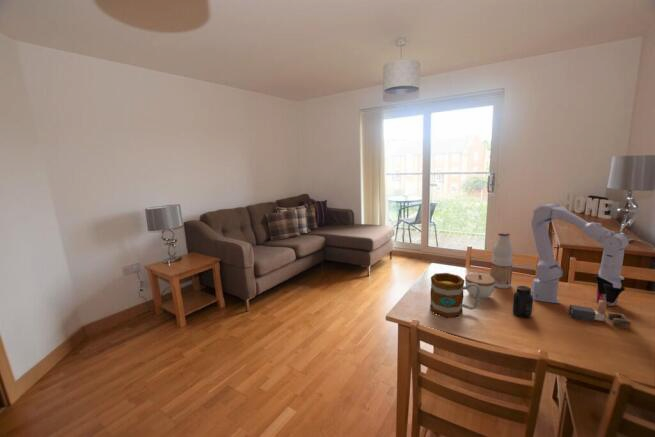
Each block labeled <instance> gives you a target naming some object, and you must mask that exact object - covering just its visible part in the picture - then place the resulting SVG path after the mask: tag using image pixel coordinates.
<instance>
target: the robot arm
mask: <svg viewBox="0 0 655 437" xmlns="http://www.w3.org/2000/svg"><path fill="white" fill-rule="evenodd" d="M532 213H533V216H532V220H531V227H532V232H533V236H534V240H535V241H534V242H535V247H536V251H537V255H538V258H539V261H538V263H537V265H536V272H535V273H536V277H537V278H532V284H531V295H532V296H533V301H539V302H544V303H545V302H547V303H553V304H560V301H559V299H558V290H559V283H560V282H559V280H560V278H562V277H563V274H564V272H563V269H562V268H561V266H560V265H559V262H558V261H557V260H556V259H555V257H554V252H553V249H552V248H553V247H552V245H551V244H552V243H551V239H550V235H549V230H548V226H547V225H548V224H549V223H550V222H552V220H563V221H565V222H567V223H569V224H571V225H573V226H575V227H577V228H579V229H581V230H582V233H583V235H585V236H587V237H589V238H590V239H592V240H593V241H595V242H597V243H599V244H600V245H601V247H602V248H603V252H602V256H601V262H600V268H599V269H598V274H595V275H594V276H593V277H594V278H595V281H596V285H597V286H598V292H599V294H606V301H607V302H610V303H614V302H615V301H616V299H617V297H618V296H620V295H621V293H622V292H624V291H625V289H626V288H625V287H624V286H622V282H621V280H622V281H623V280H625V277H623V275H621V274H622V268H623V262H624V256H625V248H627V247H628V246H629V244H630V242H629V239H628V237H627V236H626V235H624V234H623V233H618V232H617V233H616V231H614V230H610V229H608V228H606V227H604V226H602V223H600V222H595V221H594V222H588V221H586V220H585V219H583V218H582V217H580V216H578V215H576V214H575V213H573V212H572V211H570V210H569V209H567V208H566V207H565V206H563V205H560V204H559V203H556V202H555V203H549V204H541V205H538V206H537V207H536V208H535V209H534V210H533V211H532ZM597 286H596V287H597ZM618 298H619V297H618Z"/></svg>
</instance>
